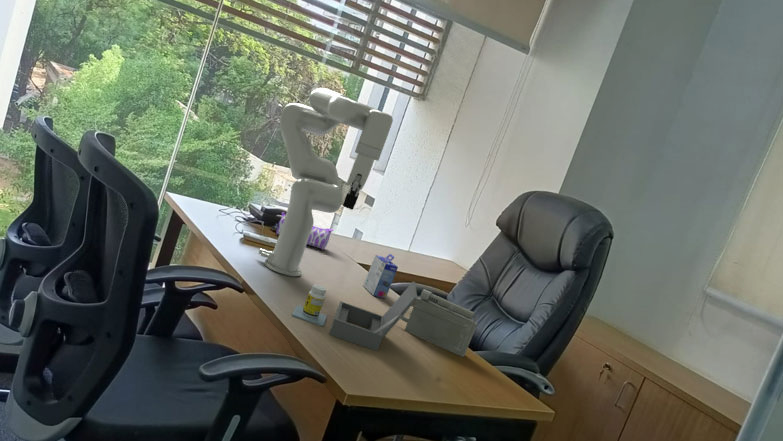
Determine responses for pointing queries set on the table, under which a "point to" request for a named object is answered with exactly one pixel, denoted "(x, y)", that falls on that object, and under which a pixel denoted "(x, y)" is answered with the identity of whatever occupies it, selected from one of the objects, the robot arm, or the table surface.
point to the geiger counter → (441, 323)
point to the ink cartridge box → (380, 276)
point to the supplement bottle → (314, 301)
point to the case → (370, 320)
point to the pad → (299, 314)
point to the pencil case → (311, 235)
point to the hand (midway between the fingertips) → (348, 205)
